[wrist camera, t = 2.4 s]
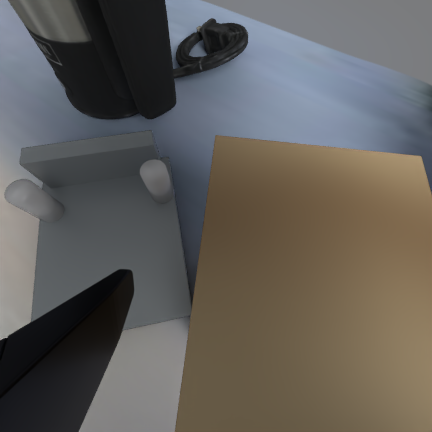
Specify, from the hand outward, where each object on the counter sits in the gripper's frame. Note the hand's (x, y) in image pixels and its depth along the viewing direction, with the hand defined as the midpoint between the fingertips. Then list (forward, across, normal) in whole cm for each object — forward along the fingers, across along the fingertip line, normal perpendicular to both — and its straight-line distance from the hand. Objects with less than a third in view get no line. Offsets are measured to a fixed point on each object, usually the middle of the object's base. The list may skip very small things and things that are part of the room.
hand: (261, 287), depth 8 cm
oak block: (+5, 0, +6) cm, 8 cm away
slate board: (+8, +9, +3) cm, 12 cm away
